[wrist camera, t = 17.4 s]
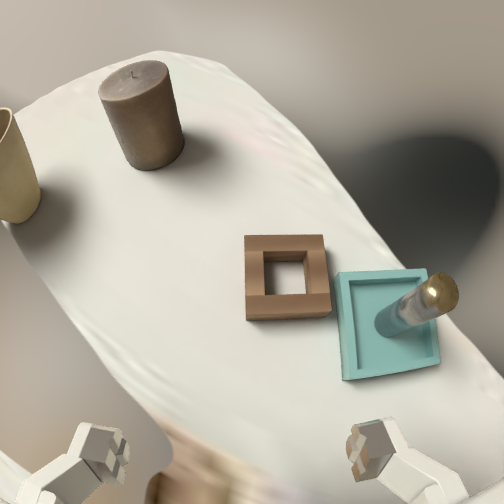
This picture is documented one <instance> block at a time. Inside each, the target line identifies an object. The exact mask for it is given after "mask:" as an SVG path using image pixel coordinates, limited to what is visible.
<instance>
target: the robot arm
mask: <svg viewBox="0 0 504 504" xmlns="http://www.w3.org/2000/svg"><path fill="white" fill-rule="evenodd" d="M351 432H352V435H350V436H349V437H348V439H347V442H346V452H347V456H348V459H349V460H350V461H352V462H353V463H354V464H353V466H352V472H353V475H354V478H355V481H356V482H360V481H365V480H369V479H373V478H377V479H378V480H379V481H380V482H381V483H383V484H384V485H385V486H386V487H388V488H389V489H390V490H391V491H392V492H394V493H395V494H396V495H397V496H399V497H400V498H401V499H402V500H404V501H405V502H406V503H407V504H504V477H503V478H502V479H500V480H499V481H497V482H496V483H494V484H492V485H491V486H489V487H488V488H486V489H484V490H483V491H481V492H479V493H478V494H476V495H474V496H472V497H471V498H470V497H469V495H468V493H467V491H466V489H465V487H464V485H463V483H462V481H461V479H460V477H459V475H458V473H456V472H454V471H453V470H451V469H449V468H447V467H445V466H444V465H442V464H440V463H438V462H436V461H435V460H433V459H431V458H430V457H428V456H426V455H424V454H423V453H421V452H419V451H418V450H416V449H414V448H409V446H408V444H407V442H406V440H405V438H404V436H403V434H402V432H401V430H400V428H399V426H398V424H397V422H396V420H395V418H393V417H388V418H384V419H380V420H379V419H378V420H374V421H369V422H365V423H360V424H355V425H354V426H352V429H351ZM122 436H123V433H122V432H121V430H120V429H116V428H110V427H104V426H99V425H95V424H90V423H85V422H82V423H81V424H80V425H79V426H78V428H77V431H76V433H75V435H74V438H73V440H72V443H71V445H70V448H69V450H68V453H67V454H62V455H61V456H59V457H58V458H56V459H55V460H53V461H52V462H50V463H49V464H48V465H46V466H45V467H43V468H42V469H40V470H39V471H37V472H35V473H34V474H32V475H31V476H29V477H28V478H26V479H25V480H24V481H23V483H22V485H21V488H20V490H19V493H18V495H17V498H16V501H15V503H14V504H81V503H82V502H83V501H84V500H85V499H87V498H88V497H89V495H91V494H92V493H93V492H94V491H95V490H96V489H97V488H98V487H99V486H100V485H101V484H102V483H107V484H112V485H118V486H123V482H124V478H125V474H126V472H125V470H124V468H123V467H124V466H125V465H126V464H128V461H129V451H130V450H129V445H128V443H127V441H126V440H124V439H123V438H122ZM101 482H102V483H101ZM0 504H9V503H8V502H6V501H4V500H2V499H0Z"/></svg>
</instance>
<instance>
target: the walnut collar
mask: <svg viewBox="0 0 504 504" xmlns="http://www.w3.org/2000/svg"><path fill="white" fill-rule="evenodd" d="M244 244H245V299H246V320H273V319H298V318H318V317H326V316H327V315H328V314H329V313H330V312H331V311H332V308H331V298H330V289H329V280H328V272H327V263H326V256H325V248H324V241H323V235H244ZM277 261H303V265H304V275H305V287H306V294H289V295H265V289H264V265H263V262H277Z"/></svg>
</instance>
